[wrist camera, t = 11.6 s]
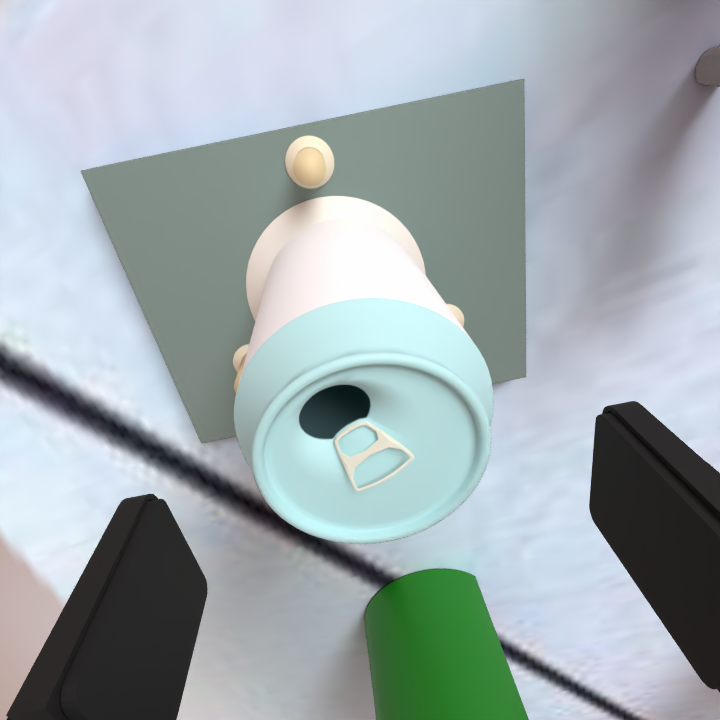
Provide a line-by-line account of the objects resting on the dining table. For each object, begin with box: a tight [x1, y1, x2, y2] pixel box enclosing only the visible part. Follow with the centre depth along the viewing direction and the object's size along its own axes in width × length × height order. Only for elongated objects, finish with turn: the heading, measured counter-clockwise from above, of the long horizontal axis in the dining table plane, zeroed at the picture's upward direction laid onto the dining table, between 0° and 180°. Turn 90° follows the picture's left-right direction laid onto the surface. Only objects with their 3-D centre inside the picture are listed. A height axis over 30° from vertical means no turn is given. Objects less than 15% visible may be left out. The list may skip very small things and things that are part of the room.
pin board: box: [81, 79, 526, 443], centre depth 21 cm, size 14×18×4 cm
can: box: [234, 218, 494, 544], centre depth 16 cm, size 7×7×12 cm
